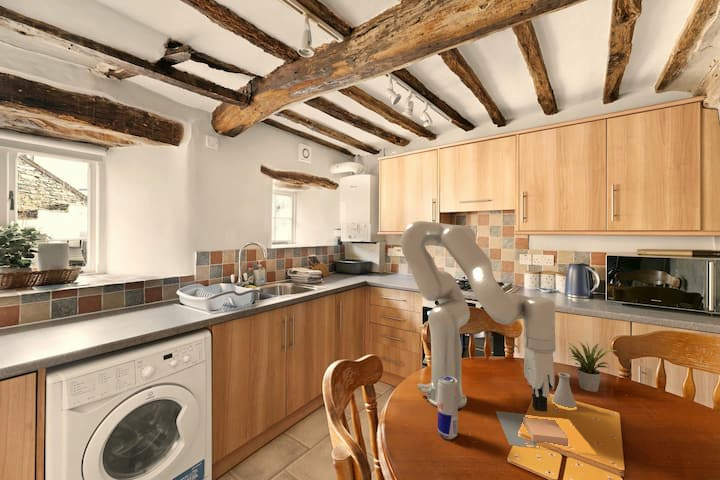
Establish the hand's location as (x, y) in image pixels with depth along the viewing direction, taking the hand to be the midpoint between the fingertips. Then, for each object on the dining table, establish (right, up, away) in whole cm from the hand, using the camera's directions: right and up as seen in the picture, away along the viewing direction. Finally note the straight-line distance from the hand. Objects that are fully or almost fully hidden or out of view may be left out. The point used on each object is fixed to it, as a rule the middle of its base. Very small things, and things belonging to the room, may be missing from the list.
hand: (539, 409), depth 86 cm
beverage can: (-26, -6, -2) cm, 27 cm away
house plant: (+32, -6, +24) cm, 41 cm away
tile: (0, -4, +1) cm, 4 cm away
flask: (+15, -6, +12) cm, 20 cm away
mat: (0, -6, -1) cm, 6 cm away
